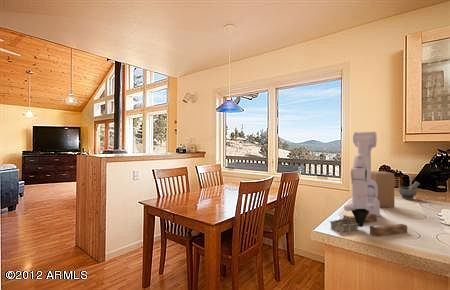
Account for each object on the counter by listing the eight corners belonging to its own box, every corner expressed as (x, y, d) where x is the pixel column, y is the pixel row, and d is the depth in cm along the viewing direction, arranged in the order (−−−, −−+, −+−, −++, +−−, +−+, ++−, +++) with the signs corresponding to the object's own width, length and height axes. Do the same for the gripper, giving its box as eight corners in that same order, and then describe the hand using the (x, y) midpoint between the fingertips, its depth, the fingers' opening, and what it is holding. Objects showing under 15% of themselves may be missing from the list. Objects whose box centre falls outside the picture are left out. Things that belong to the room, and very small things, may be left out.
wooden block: (384, 203, 142) (384, 171, 142) (395, 207, 132) (395, 173, 132) (368, 203, 143) (367, 171, 142) (377, 207, 133) (376, 173, 133)
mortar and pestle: (398, 198, 152) (398, 181, 152) (398, 196, 160) (398, 179, 160) (420, 201, 145) (420, 182, 145) (419, 198, 153) (419, 180, 153)
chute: (372, 219, 112) (372, 212, 112) (407, 232, 95) (407, 224, 95) (343, 223, 108) (343, 215, 108) (374, 236, 91) (374, 228, 91)
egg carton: (349, 225, 105) (349, 216, 105) (361, 231, 98) (361, 221, 98) (327, 226, 104) (327, 217, 104) (338, 232, 96) (338, 223, 96)
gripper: (353, 198, 94) (353, 230, 94) (381, 195, 98) (381, 227, 98) (340, 194, 101) (340, 225, 101) (367, 192, 104) (367, 222, 104)
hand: (359, 225), depth 100 cm, fingers closed
